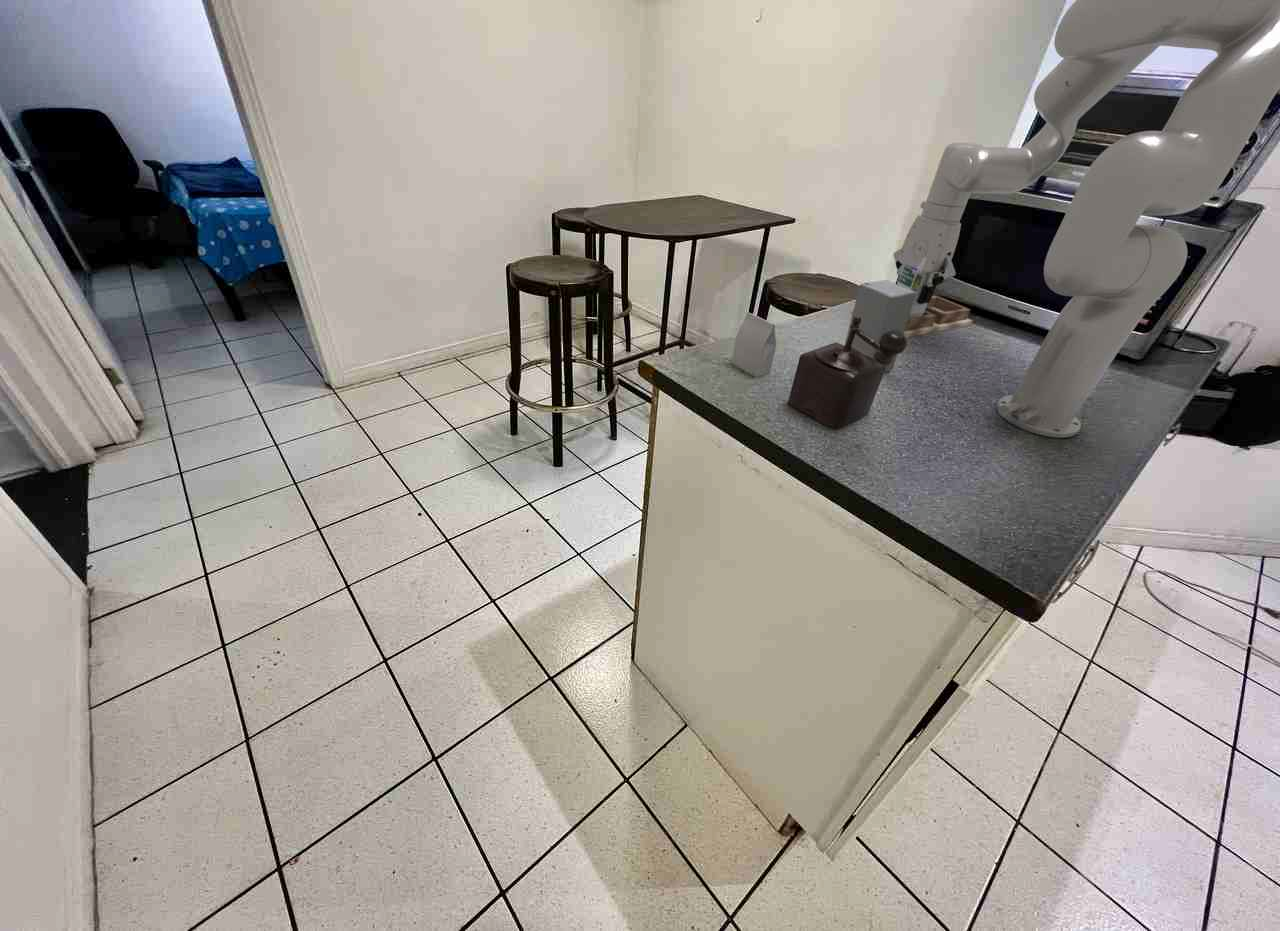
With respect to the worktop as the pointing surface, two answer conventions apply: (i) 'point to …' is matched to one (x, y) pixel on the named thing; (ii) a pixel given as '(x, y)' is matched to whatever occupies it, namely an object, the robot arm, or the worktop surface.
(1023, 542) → the worktop surface
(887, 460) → the worktop surface
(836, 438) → the worktop surface
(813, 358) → the manual coffee grinder
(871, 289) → the skincare box
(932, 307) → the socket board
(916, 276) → the syrup box
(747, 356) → the white paper bag
